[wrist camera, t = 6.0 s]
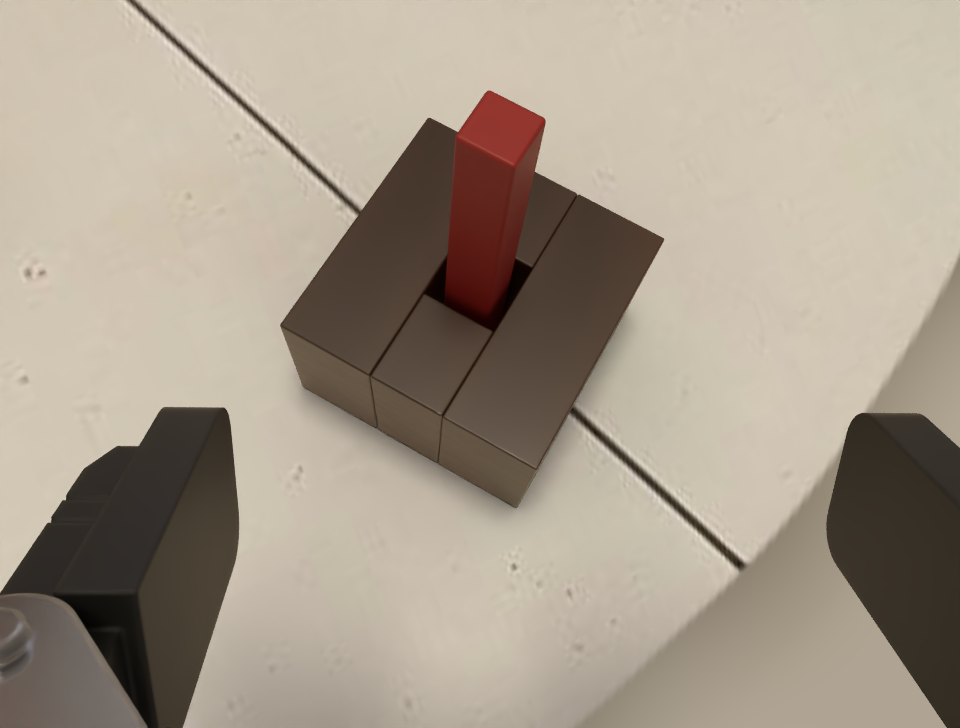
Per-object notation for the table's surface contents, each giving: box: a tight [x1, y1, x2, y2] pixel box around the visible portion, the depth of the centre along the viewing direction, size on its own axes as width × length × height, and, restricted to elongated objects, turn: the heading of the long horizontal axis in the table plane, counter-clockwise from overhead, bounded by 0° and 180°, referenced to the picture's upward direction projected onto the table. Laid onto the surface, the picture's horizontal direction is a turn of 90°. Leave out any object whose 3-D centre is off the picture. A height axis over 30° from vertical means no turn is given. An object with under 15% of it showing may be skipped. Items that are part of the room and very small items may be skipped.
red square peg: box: [444, 91, 546, 333], centre depth 23 cm, size 1×1×12 cm
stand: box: [280, 118, 664, 508], centre depth 26 cm, size 8×8×5 cm
